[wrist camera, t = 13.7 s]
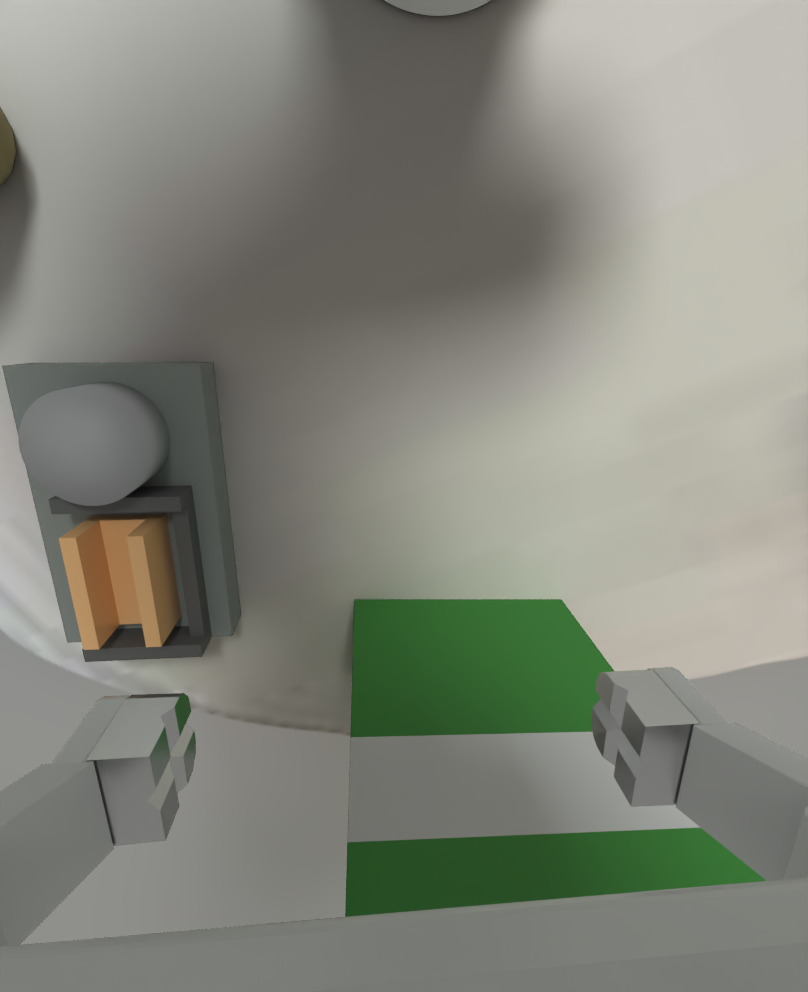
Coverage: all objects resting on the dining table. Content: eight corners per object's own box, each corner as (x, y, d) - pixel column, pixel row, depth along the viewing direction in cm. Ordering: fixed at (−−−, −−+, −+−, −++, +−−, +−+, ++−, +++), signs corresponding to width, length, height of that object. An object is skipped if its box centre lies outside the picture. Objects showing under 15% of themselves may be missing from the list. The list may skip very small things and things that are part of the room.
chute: (91, 515, 35) (58, 538, 31) (166, 514, 35) (142, 536, 32) (111, 617, 37) (83, 649, 34) (181, 615, 38) (161, 646, 34)
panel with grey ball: (31, 362, 34) (-48, 370, 28) (213, 362, 35) (178, 369, 29) (88, 620, 41) (34, 677, 34) (241, 614, 42) (218, 668, 35)
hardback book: (561, 599, 44) (779, 894, 21) (549, 672, 46) (735, 1010, 23) (354, 599, 42) (345, 917, 19) (353, 674, 44) (343, 1039, 21)
